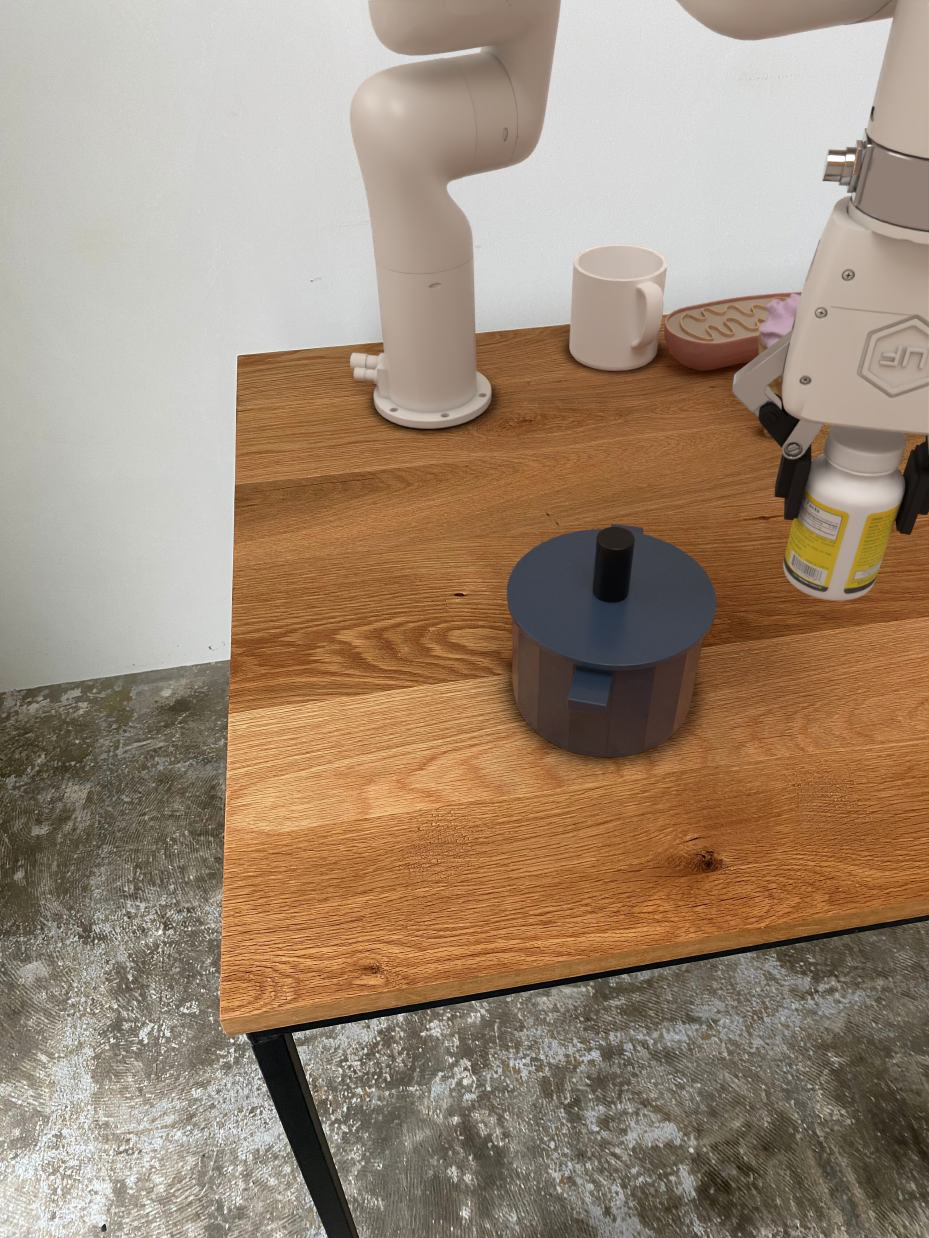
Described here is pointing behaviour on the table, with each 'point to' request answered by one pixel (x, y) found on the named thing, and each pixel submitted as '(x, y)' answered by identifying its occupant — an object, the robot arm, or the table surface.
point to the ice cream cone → (777, 332)
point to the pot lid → (611, 599)
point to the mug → (616, 306)
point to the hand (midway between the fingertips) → (845, 510)
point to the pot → (601, 699)
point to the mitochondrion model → (718, 331)
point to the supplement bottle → (846, 514)
